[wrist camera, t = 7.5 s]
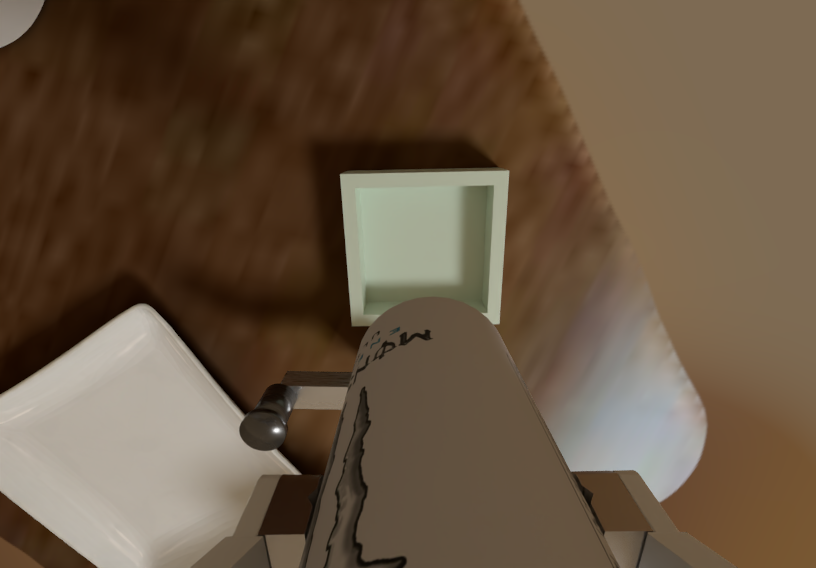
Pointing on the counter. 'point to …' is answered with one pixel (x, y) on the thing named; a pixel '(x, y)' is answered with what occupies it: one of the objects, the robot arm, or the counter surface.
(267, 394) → the crank lever
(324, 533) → the energy drink can
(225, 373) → the counter surface
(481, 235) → the tray
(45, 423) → the square plate
